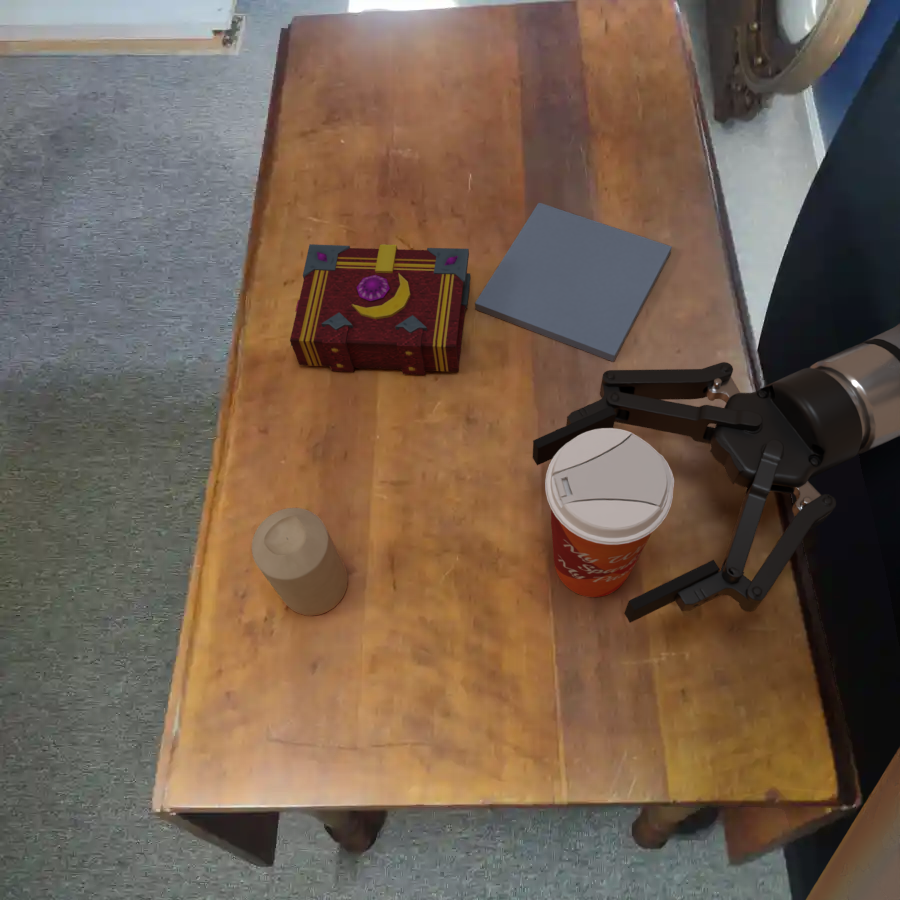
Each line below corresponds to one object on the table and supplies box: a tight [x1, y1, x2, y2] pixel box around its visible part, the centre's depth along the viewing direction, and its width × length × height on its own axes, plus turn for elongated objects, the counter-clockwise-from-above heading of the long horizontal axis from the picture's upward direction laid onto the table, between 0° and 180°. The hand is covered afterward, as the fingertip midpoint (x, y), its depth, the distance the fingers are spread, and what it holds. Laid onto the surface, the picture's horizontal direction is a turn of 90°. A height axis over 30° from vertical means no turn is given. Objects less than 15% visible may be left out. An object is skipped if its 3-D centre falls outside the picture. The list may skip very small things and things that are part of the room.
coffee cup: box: [544, 427, 675, 598], centre depth 60 cm, size 8×8×15 cm
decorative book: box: [289, 243, 472, 376], centre depth 78 cm, size 11×16×5 cm
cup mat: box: [474, 202, 673, 363], centre depth 80 cm, size 14×14×1 cm
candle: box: [251, 507, 348, 617], centre depth 63 cm, size 6×6×10 cm
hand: (579, 528), depth 60 cm, fingers open, 13 cm apart
